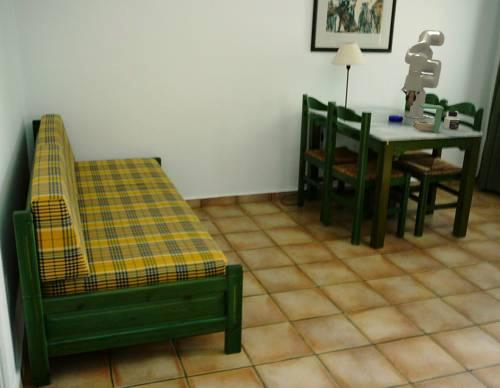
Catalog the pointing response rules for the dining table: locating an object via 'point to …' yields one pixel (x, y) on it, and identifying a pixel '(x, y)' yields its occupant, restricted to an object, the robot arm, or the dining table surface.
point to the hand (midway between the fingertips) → (410, 100)
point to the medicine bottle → (451, 121)
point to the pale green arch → (437, 115)
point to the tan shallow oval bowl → (423, 125)
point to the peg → (410, 98)
